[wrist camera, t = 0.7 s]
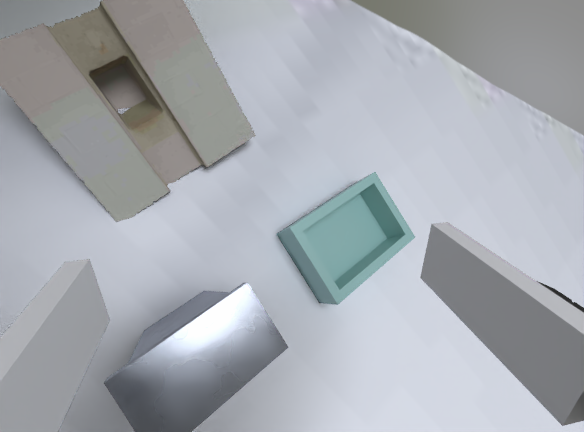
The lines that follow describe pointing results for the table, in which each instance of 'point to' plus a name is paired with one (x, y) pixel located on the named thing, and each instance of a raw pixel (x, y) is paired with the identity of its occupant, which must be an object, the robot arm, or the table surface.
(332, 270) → the tray
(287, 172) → the table surface
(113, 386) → the brushed metal pillar
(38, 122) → the wall
